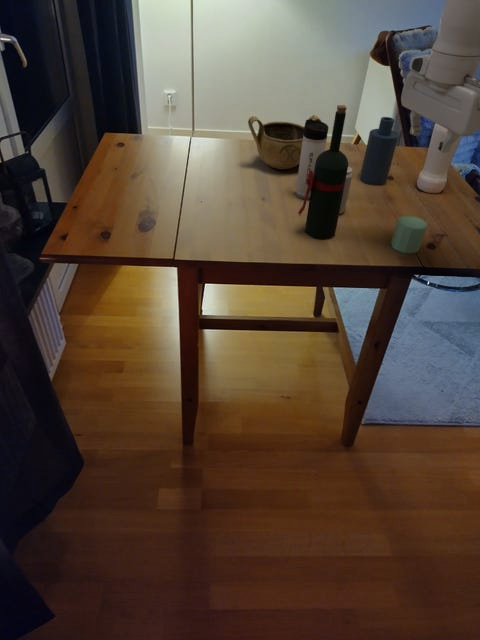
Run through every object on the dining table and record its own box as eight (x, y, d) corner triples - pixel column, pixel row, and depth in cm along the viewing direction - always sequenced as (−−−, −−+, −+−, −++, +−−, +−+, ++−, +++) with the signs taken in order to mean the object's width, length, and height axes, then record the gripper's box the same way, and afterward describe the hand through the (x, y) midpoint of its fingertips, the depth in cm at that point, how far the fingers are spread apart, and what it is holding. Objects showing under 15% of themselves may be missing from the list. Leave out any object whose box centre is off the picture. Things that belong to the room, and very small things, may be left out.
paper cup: (422, 244, 114) (430, 221, 110) (414, 256, 110) (422, 232, 105) (396, 236, 116) (403, 212, 112) (387, 247, 112) (394, 223, 108)
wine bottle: (293, 223, 119) (309, 100, 99) (331, 223, 120) (355, 101, 100) (298, 239, 113) (316, 111, 93) (338, 239, 114) (365, 112, 94)
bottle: (449, 190, 138) (488, 81, 118) (430, 196, 134) (468, 84, 114) (427, 180, 143) (462, 73, 123) (409, 185, 139) (442, 76, 119)
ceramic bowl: (253, 178, 138) (256, 127, 129) (240, 156, 151) (242, 108, 141) (322, 174, 143) (331, 124, 133) (304, 153, 155) (311, 106, 145)
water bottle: (389, 178, 142) (405, 118, 130) (380, 187, 137) (397, 125, 125) (365, 172, 145) (378, 112, 134) (355, 180, 140) (369, 119, 128)
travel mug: (306, 188, 135) (316, 117, 122) (322, 196, 131) (334, 124, 118) (290, 193, 132) (299, 121, 119) (305, 202, 128) (316, 128, 115)
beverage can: (321, 203, 128) (328, 161, 120) (344, 206, 127) (353, 164, 119) (320, 214, 123) (327, 171, 115) (344, 217, 123) (353, 174, 115)
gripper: (505, 83, 80) (475, 160, 89) (431, 55, 94) (411, 125, 103) (477, 85, 78) (449, 164, 87) (405, 57, 92) (388, 127, 102)
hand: (428, 142), depth 96 cm, fingers open, 8 cm apart
